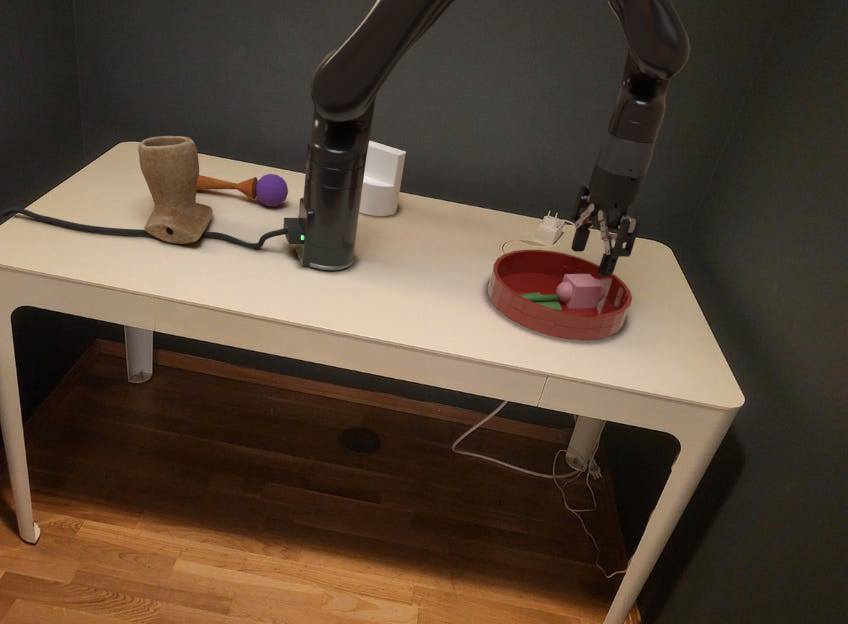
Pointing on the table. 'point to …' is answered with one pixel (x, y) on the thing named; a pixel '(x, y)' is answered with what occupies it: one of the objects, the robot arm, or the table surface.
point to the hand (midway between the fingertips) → (590, 262)
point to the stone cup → (173, 188)
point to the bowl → (544, 275)
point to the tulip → (572, 293)
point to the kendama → (252, 188)
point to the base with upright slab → (381, 180)
